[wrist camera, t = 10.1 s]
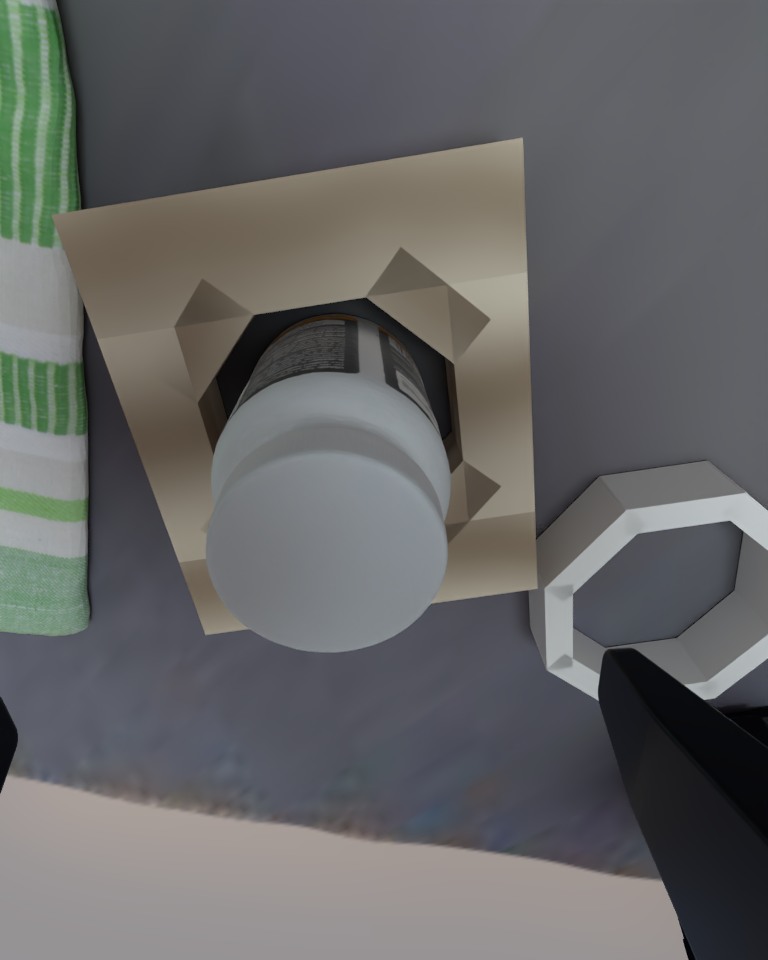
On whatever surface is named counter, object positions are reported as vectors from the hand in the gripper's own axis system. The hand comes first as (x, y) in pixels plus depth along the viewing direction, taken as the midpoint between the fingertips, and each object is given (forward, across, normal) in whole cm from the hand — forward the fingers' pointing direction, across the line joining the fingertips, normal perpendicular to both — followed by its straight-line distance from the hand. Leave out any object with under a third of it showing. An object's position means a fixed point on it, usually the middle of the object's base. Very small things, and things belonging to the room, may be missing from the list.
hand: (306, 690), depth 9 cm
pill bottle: (+13, 0, 0) cm, 13 cm away
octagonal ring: (+13, -12, +8) cm, 19 cm away
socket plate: (+13, 0, 0) cm, 13 cm away
